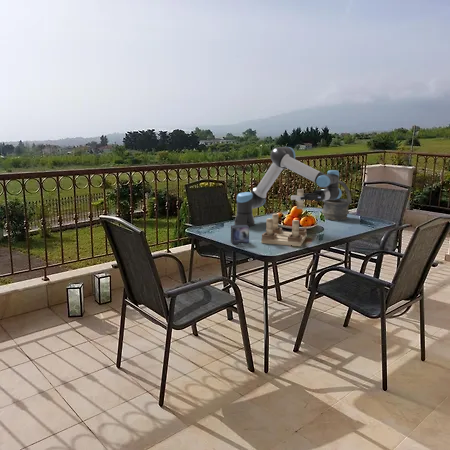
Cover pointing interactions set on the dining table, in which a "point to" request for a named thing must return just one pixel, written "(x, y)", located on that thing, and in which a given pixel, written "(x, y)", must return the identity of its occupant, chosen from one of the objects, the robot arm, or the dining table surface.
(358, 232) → the dining table surface
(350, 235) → the dining table surface
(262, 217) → the dining table surface
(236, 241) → the small box
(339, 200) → the wicker basket
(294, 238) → the upturned wooden stool
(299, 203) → the loose leg
